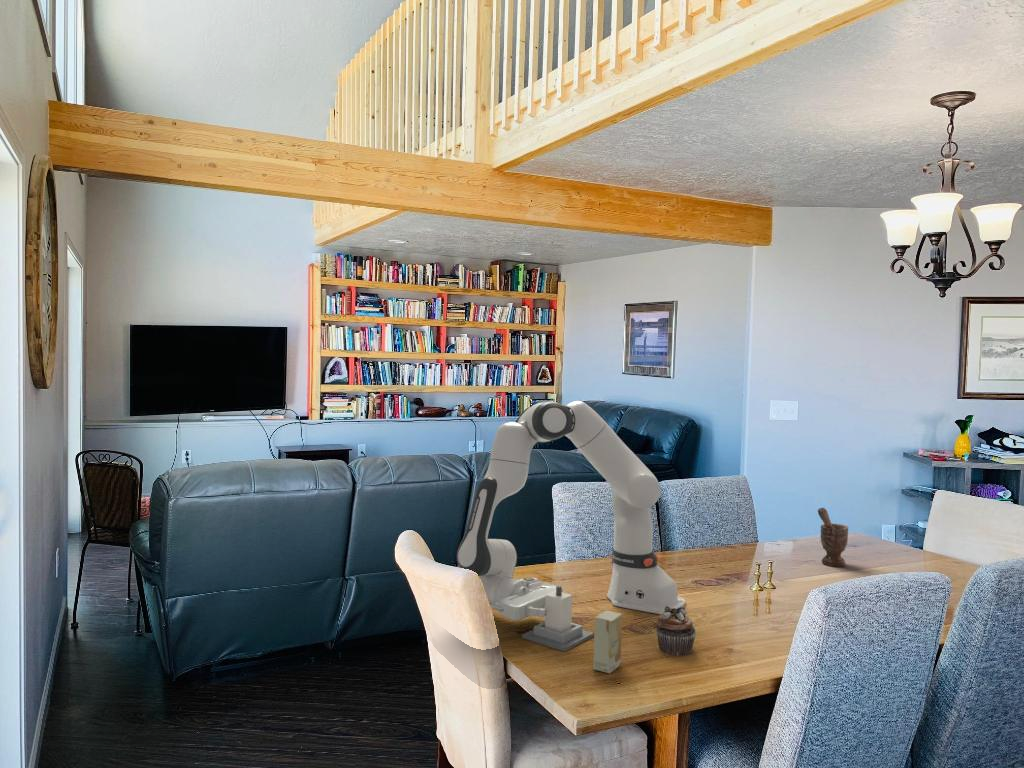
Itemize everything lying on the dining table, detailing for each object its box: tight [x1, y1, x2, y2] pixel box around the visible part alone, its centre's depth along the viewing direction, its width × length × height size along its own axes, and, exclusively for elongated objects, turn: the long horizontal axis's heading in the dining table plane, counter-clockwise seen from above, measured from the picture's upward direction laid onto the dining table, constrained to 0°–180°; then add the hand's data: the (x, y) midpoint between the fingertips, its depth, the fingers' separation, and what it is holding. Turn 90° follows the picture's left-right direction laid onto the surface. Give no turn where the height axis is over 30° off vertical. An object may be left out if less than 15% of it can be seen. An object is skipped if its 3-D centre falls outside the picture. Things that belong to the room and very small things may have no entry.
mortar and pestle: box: [817, 507, 849, 568], centre depth 259 cm, size 12×9×20 cm
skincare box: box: [592, 610, 623, 674], centre depth 176 cm, size 6×4×12 cm
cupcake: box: [655, 606, 697, 656], centre depth 187 cm, size 10×10×10 cm
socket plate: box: [521, 620, 594, 652], centre depth 194 cm, size 13×13×3 cm
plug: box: [544, 585, 573, 633], centre depth 194 cm, size 5×4×12 cm
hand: (556, 608), depth 194 cm, fingers open, 8 cm apart
